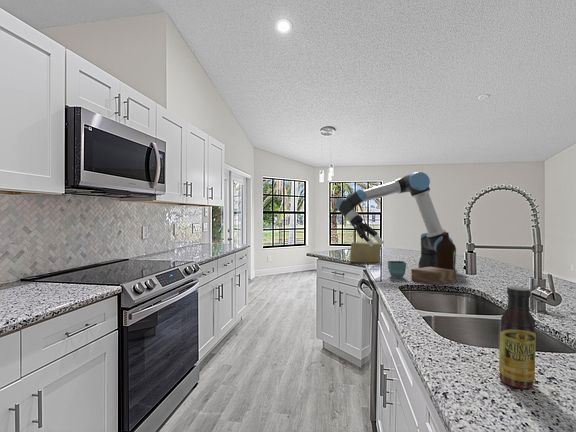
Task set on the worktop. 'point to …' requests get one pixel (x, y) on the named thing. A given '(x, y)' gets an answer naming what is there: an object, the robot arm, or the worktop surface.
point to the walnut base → (434, 275)
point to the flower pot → (397, 268)
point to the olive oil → (446, 253)
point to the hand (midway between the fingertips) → (377, 244)
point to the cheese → (365, 252)
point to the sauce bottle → (517, 340)
